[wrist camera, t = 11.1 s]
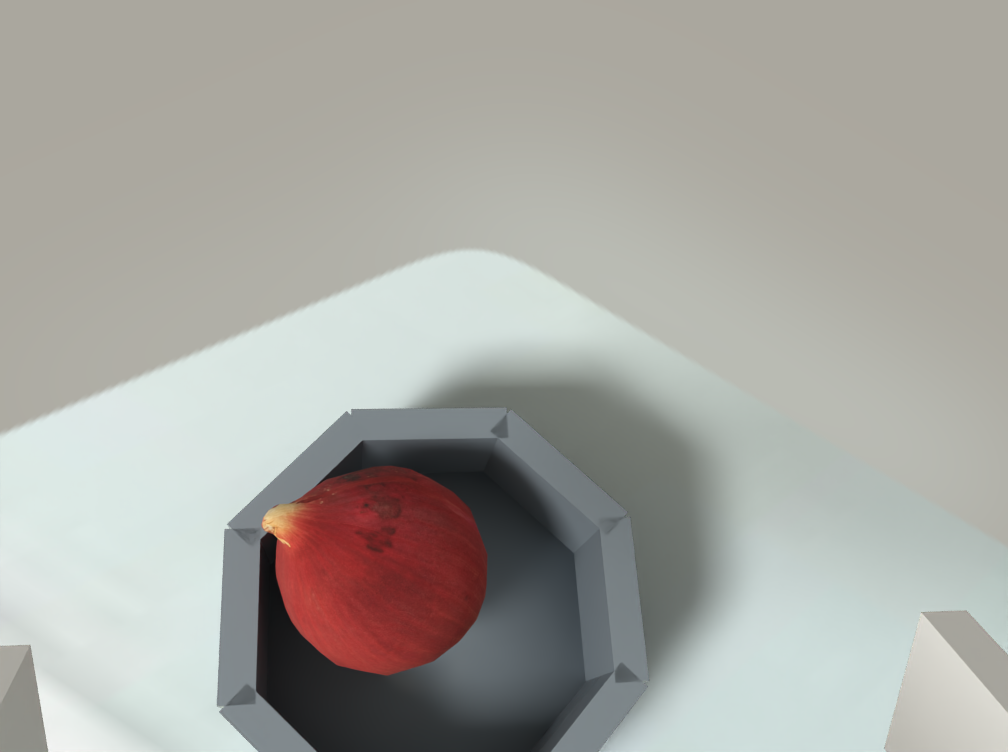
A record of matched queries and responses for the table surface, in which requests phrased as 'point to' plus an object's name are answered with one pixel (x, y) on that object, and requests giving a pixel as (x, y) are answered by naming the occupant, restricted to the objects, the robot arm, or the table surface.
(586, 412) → the table surface
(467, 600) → the onion
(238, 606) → the grey octagonal bowl
